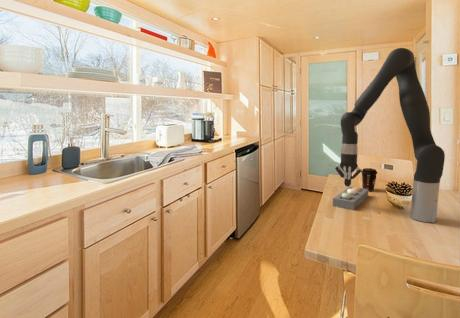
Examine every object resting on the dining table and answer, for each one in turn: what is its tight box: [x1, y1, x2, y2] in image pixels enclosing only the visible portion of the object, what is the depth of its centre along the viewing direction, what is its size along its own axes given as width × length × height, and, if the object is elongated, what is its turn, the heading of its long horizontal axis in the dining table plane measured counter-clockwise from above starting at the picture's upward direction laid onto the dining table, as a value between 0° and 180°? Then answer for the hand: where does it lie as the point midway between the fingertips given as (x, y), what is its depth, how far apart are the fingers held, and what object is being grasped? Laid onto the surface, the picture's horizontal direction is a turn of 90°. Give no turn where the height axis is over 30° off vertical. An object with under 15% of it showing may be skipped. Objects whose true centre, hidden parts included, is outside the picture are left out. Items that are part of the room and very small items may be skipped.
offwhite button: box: [346, 188, 356, 196], centre depth 143 cm, size 4×4×3 cm
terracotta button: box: [352, 186, 362, 192], centre depth 150 cm, size 4×4×3 cm
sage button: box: [342, 193, 351, 200], centre depth 136 cm, size 4×4×3 cm
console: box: [332, 186, 369, 211], centre depth 143 cm, size 10×28×4 cm, turn 140°
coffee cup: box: [360, 167, 378, 192], centre depth 162 cm, size 9×8×13 cm
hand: (347, 186), depth 136 cm, fingers closed
